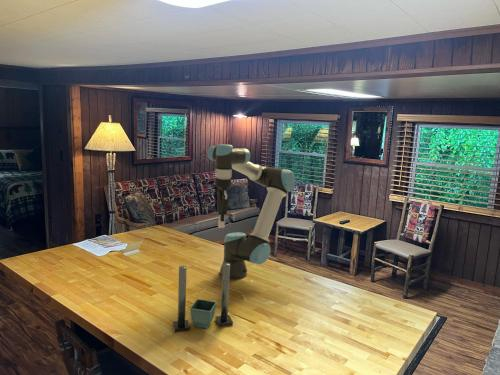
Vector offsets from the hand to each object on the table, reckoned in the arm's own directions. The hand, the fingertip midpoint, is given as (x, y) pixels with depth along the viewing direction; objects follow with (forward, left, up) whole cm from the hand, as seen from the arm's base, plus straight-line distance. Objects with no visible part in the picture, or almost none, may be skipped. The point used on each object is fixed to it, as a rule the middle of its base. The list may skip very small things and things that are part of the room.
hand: (221, 227), depth 183 cm
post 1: (+22, +25, -34) cm, 48 cm away
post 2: (+4, +25, -34) cm, 43 cm away
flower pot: (+13, +25, -35) cm, 45 cm away
